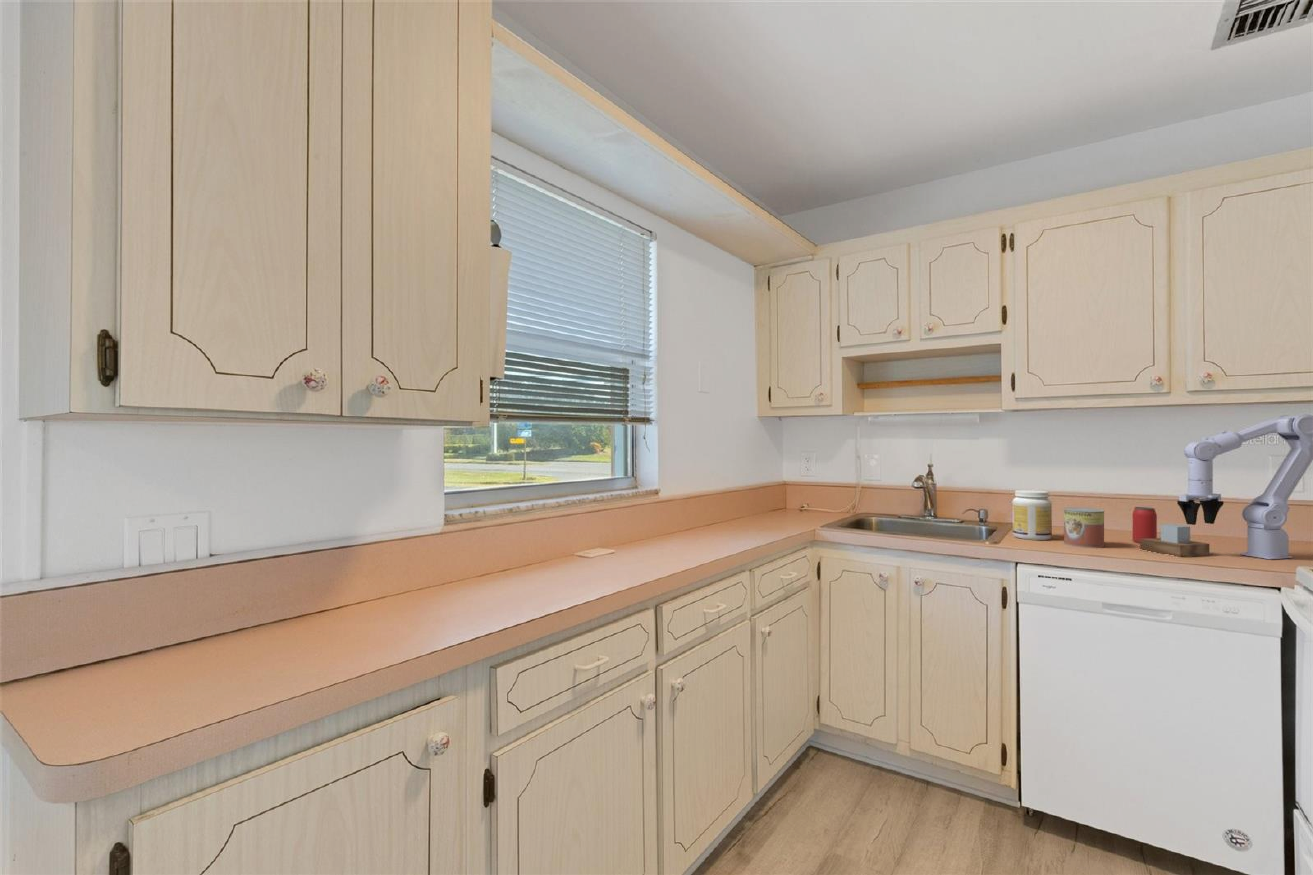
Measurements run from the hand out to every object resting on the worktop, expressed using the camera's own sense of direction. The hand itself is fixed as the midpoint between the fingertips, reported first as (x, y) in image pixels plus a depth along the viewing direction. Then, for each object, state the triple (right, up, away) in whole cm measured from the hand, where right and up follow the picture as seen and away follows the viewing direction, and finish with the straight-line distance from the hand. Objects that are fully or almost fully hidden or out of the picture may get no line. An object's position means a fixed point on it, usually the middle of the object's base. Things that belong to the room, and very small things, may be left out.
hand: (1200, 523), depth 190 cm
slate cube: (-6, -6, +2) cm, 9 cm away
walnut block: (-6, -10, +3) cm, 12 cm away
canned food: (-25, -10, +16) cm, 31 cm away
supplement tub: (-34, -10, +31) cm, 46 cm away
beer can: (-1, -10, +20) cm, 23 cm away
